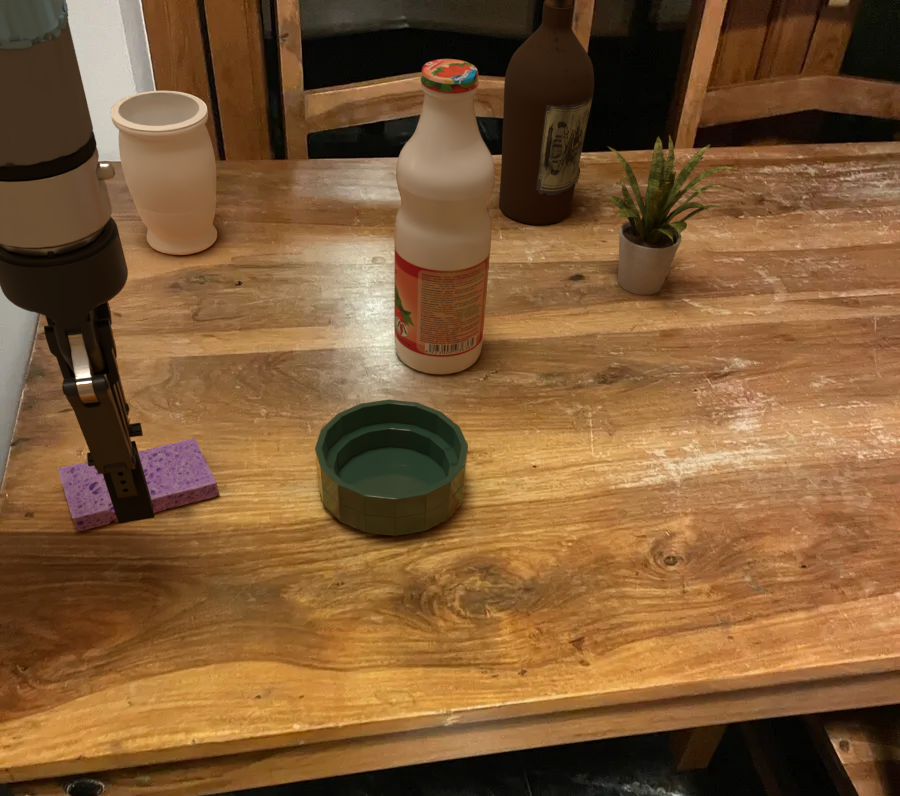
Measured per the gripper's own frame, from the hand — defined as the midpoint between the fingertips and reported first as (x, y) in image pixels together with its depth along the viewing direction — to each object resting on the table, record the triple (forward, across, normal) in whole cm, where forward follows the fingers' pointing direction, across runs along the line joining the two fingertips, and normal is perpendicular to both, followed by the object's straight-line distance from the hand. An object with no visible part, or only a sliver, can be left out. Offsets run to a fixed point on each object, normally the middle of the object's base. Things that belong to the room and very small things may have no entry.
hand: (135, 514), depth 73 cm
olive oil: (+7, +53, -53) cm, 75 cm away
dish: (+7, +5, -22) cm, 23 cm away
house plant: (+7, +32, -60) cm, 68 cm away
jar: (+6, +54, -8) cm, 55 cm away
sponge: (+7, +10, 0) cm, 12 cm away
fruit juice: (+7, +25, -32) cm, 41 cm away
